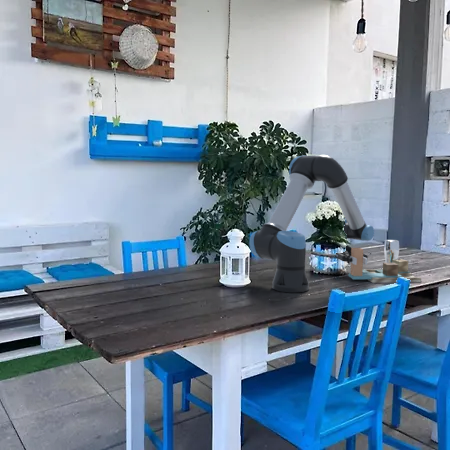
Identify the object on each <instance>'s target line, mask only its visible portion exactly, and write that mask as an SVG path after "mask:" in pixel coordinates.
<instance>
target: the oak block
mask: <svg viewBox="0 0 450 450" xmlns="http://www.w3.org/2000/svg"><path fill="white" fill-rule="evenodd" d="M392 263H396V264H398V272H408V271H409V260H405V259H402V258H401V259H399V258H398V259H396V260H392Z"/></svg>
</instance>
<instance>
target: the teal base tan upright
mask: <svg viewBox="0 0 450 450" xmlns="http://www.w3.org/2000/svg"><path fill="white" fill-rule="evenodd" d="M363 254H364V248H361V247H351V256H353V257H355V258H357V265H354V264H353V263H351V262H350V272H349V273H348V277H349V278H350V279H352V280H367V279H372V278H398V277H402V276H401V275H399V274H398V276H386V275H384V274H383V273H362V272H363V268H364V267H363V266H364V264H363Z"/></svg>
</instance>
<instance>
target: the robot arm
mask: <svg viewBox="0 0 450 450" xmlns="http://www.w3.org/2000/svg"><path fill="white" fill-rule="evenodd" d="M288 169H289V170H288V175H289V177H288V179H289V180H290V181H289V183H288V185H287V187H286V189H285V190H284V192H283V194H282V196H281V198H280V200H279V202H278V204H277V206H276V207H275V208H274V211H273V213H272V214H271V216H270V217H269V221H268V222H266V223H264V224H262V226H261V228H260V229H259V230H256V231H254V232H252V233H251V235H250V237H249V245H248V246H249V249H250V252H251V254H252V255H253V256H254V257H256V258H260V259H263V260H270V261H274V262H275V261H276V270H275V272H274V273H275V274H274V276H273V279H272V282H271V284H272V286H271V288H272V289H273V290H275V291H277V292H281V293H282V292H283V293H301V292H302V293H304V292H307V291H309V290H310V283H309V280H308V276H307V272H306V256H307V255H306V250H307V249H306V248H307V242H306V241H307V239H306V237H305V235H304V234H302V233H301V232H298V231H290V230H287V229H288V228H289V226H290V224H291V222H292V220H293V218H294V216H295V214H296V212H297V210H298V208H299V206H300V204H301V203H302V201H303V199H304V197H305V195H306V193H307V191H308V190H310V189H312V188H313V187H314V185H315V183H316V182H323V183H325V184H326V186H327V188H328V189H331V192H332V193H333V196H334V198H335V200H336V202H337V204H338V207H339V208H340V210H341V212H342V215H343V216H344V219H345V226H344V231H345V233H346V234H347V238H346V239H347V240H348V239H349V240H350V239H351V240H356V241H361V242H362V241H363V242H364V241H367V242H369V241H371V240H373V238H374V236H375V228H374V227H373V226H372V225H369V224H367V223H366V221H365V219H364V216H363V214H362V212H361V211H360V208H359V206H358V203H357V201H356V199H355V196H354V195H353V192H352V190H351V187H350V185H349V183H348V180H349V179H348V175H347V172H346V171H345V170H344V168H343V167H342V165H341V164H340V163H339V162H338V161H337V159H334V157H331V156H330V155H327V154H320V155H319V154H318V155H317V154H316V155H307V154H306V155H305V154H304V155H300V156H299V155H298V156H295V157H294V158H293V159H292V160H291V161H290V164H289V166H288ZM351 248H352V247H351V246H349V245H347V246H346V251H345V252H343V253H336V255H337V258H336V259H338V260H340V261H341V262H346V264H351V263H353V264H354V265H357V258H355V257H353V256H351ZM363 265H366V266H367V265H368V255H367V254H365V253H363Z"/></svg>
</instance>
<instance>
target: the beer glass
mask: <svg viewBox="0 0 450 450" xmlns="http://www.w3.org/2000/svg"><path fill="white" fill-rule="evenodd" d="M383 246H384V247H383V251H384V252H383V253H384V259H385V262H384V263H392V260H396V259H399V253H400V240H397V239H384V245H383Z"/></svg>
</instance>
